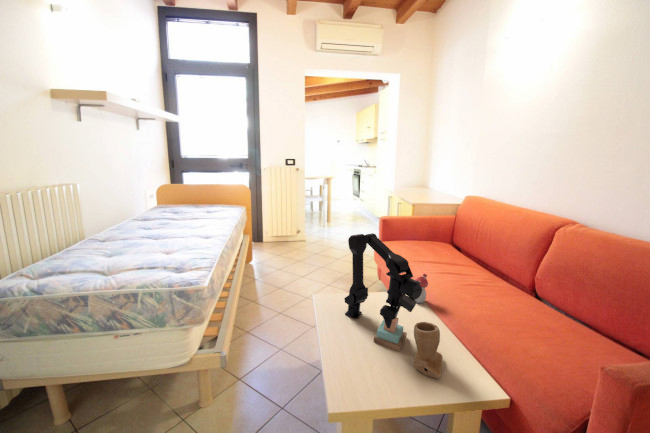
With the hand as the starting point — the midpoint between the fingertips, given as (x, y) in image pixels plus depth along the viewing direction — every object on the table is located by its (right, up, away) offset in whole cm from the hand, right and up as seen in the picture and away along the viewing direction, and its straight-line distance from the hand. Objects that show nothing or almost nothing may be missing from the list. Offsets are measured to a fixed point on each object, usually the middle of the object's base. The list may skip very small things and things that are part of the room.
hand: (391, 322), depth 127 cm
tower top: (0, -6, +1) cm, 6 cm away
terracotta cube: (0, -3, +1) cm, 3 cm away
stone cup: (+10, -12, -11) cm, 19 cm away
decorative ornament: (+23, -1, +38) cm, 44 cm away
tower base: (0, -9, +2) cm, 9 cm away
